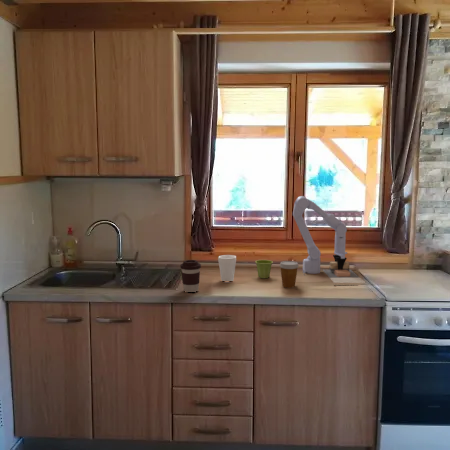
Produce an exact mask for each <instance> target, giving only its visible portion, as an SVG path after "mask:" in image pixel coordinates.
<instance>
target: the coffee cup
mask: <svg viewBox="0 0 450 450" xmlns="http://www.w3.org/2000/svg"><path fill="white" fill-rule="evenodd" d="M179 266H180V269H181V280H182V281H181V282H182V288H183V292H184V291H186V292H195V293H197V292H196V291H199V289H200V288H199V287H200V278H201V276H200V275H201V270H200V269H201V268H202V267H201V266H202V264H201V263H199V262H198V260H195V259H187V260H183V262H182V263H181V264H180V265H179ZM186 292H185V293H186Z"/></svg>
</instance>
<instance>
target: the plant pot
mask: <svg viewBox="0 0 450 450" xmlns="http://www.w3.org/2000/svg"><path fill="white" fill-rule="evenodd" d="M255 263H256V268H257V270H256V271H257V276H258V278H259V277H260V279H269V278H270V276H271V269H272V265H273V263H274V262H273V260H269V259H258V260H255ZM268 277H269V278H268Z"/></svg>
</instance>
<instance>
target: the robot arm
mask: <svg viewBox="0 0 450 450" xmlns="http://www.w3.org/2000/svg"><path fill="white" fill-rule="evenodd" d="M306 209H307V210H311V211H313V212H315V213H316V214H318V215H319V216H320V217H321V218H323V222H324V223H325V224H327V226H329V227H330V228H331V229H333V230H334V231H335V232H334V233H335V235H334V252H333V255H332V256H333V259H334V262H337V264H338V270H342V269H343V266H344V263H345V262H347V257H346V255H347V254H348V251H346V240H347V239H346V238H347V236H346V233H347V231H348V228H347V226H346V224H344V223H343V222H342V220H341V219H340V220H339V219H338V218H337V217H336V215H335V214H334V213H327V212H326V211H324V210H323V208H322V207H320V206H319V205H317V203H315V202H314V201H312V200H311V199H309V198H307V197H306V196H304V195H300V196H298V197H297V198H296V199H295V201H294V205H293V211H292V216H293V219H294V221H295V223H296V225H297V228H298V230H299V233H300V234H301V237H302V238H303V241H304V243H305V245H306V248H307V254H308V256H307V257H306V258H304V259H302V274H303V275H305V274H315V275H316V274H320V273H321V254H322V253H321V250H320V249H319V247H318V246H316V243H315V242H314V240H313V237H312V235H311V233H310V230H309V228H308V226H307V224H306V221H305V220H304V217H303V214H304V212H305V211H306Z"/></svg>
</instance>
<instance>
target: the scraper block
mask: <svg viewBox="0 0 450 450" xmlns="http://www.w3.org/2000/svg"><path fill="white" fill-rule="evenodd" d="M349 269H350V262H349V261H345V263H344V266H343V269H342V270H348V271H349ZM328 270H330V271H334V270H338V264H337V262H335V261H329V269H328Z"/></svg>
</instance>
